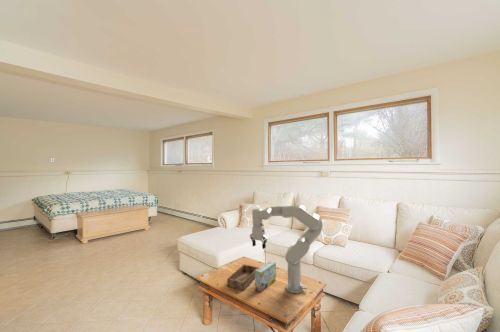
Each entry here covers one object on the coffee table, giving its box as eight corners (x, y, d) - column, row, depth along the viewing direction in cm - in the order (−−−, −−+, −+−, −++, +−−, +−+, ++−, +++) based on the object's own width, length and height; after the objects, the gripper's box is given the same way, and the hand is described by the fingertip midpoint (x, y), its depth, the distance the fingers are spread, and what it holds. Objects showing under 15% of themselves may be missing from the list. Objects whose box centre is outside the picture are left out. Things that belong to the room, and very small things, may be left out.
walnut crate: (258, 274, 196) (258, 267, 195) (243, 290, 171) (243, 282, 171) (243, 271, 202) (243, 264, 201) (227, 286, 177) (227, 279, 177)
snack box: (261, 293, 168) (260, 272, 168) (254, 290, 171) (254, 270, 171) (276, 280, 185) (276, 261, 185) (270, 278, 188) (270, 260, 188)
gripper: (269, 225, 178) (271, 247, 178) (252, 222, 189) (253, 243, 189) (263, 227, 172) (265, 250, 172) (246, 224, 183) (247, 246, 184)
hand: (259, 247), depth 181 cm, fingers open, 9 cm apart
